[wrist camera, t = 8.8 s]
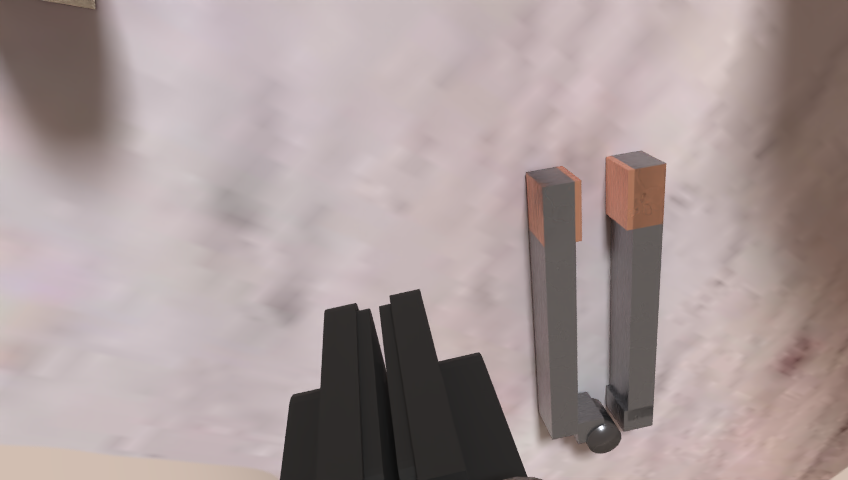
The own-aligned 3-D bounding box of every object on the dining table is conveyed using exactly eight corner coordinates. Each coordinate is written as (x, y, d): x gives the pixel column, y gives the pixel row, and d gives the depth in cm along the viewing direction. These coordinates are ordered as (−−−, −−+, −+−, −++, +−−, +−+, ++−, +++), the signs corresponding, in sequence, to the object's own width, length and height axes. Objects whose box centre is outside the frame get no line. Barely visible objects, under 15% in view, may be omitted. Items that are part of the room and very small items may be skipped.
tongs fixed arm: (641, 150, 36) (666, 163, 33) (633, 399, 45) (652, 425, 42) (606, 157, 36) (628, 170, 33) (604, 405, 45) (622, 431, 42)
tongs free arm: (605, 158, 36) (629, 173, 33) (602, 420, 45) (620, 449, 42) (526, 172, 35) (543, 188, 32) (539, 433, 45) (554, 464, 42)
